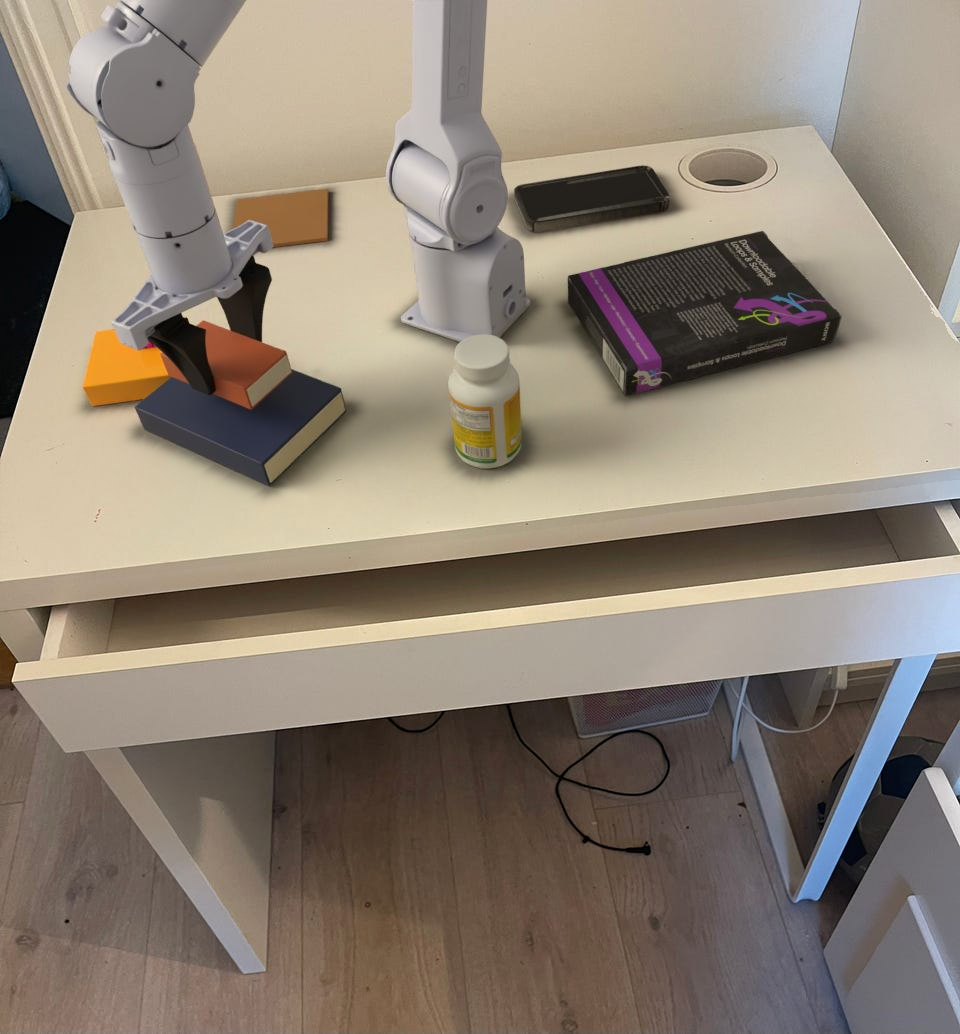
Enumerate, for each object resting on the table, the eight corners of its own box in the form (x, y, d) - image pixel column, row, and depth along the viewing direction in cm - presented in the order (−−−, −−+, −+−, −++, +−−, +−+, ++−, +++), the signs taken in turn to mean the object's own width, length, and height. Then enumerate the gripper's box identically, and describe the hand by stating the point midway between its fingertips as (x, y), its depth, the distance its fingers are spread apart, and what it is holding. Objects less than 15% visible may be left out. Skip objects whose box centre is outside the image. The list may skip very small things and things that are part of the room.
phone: (672, 200, 96) (527, 223, 95) (671, 210, 97) (527, 233, 96) (649, 163, 101) (511, 185, 100) (649, 173, 102) (512, 194, 101)
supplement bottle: (470, 479, 74) (459, 383, 66) (445, 436, 77) (432, 341, 70) (533, 457, 75) (529, 360, 68) (506, 416, 78) (500, 320, 71)
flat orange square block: (183, 394, 83) (167, 355, 80) (91, 406, 83) (72, 368, 80) (190, 338, 88) (176, 300, 85) (104, 350, 88) (86, 312, 85)
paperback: (293, 373, 76) (287, 351, 74) (252, 410, 73) (245, 388, 72) (210, 341, 80) (203, 319, 78) (168, 375, 77) (159, 354, 75)
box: (622, 402, 79) (837, 344, 81) (624, 369, 76) (846, 311, 79) (566, 306, 88) (761, 257, 90) (565, 274, 85) (766, 224, 88)
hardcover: (347, 411, 80) (342, 388, 78) (270, 487, 75) (262, 464, 73) (224, 363, 86) (216, 339, 84) (144, 430, 80) (133, 406, 78)
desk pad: (328, 191, 105) (327, 188, 105) (327, 240, 98) (327, 237, 98) (238, 202, 105) (237, 199, 104) (231, 252, 98) (230, 248, 98)
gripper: (138, 286, 61) (201, 441, 71) (285, 180, 68) (322, 333, 78) (64, 258, 63) (135, 411, 73) (213, 159, 71) (258, 310, 81)
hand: (227, 369), depth 76 cm, fingers closed on paperback, 5 cm apart
